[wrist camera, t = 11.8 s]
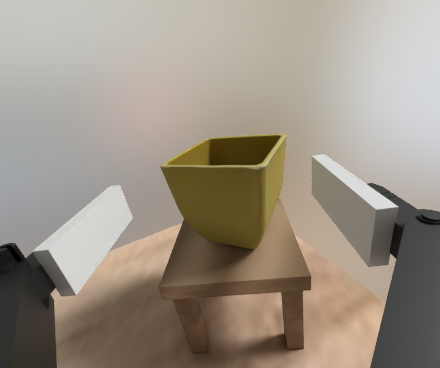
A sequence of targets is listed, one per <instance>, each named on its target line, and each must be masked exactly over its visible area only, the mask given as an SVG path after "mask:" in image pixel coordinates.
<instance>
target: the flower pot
mask: <svg viewBox="0 0 440 368" xmlns="http://www.w3.org/2000/svg"><path fill="white" fill-rule="evenodd" d="M285 146H286V134H268V135H267V134H266V135H248V136H234V137H217V138H208V139H205V140H203V141H201V142H199V143H198V144H196V145H194V146H192V147H191V148H189V149H187V150H186V151H184V152H182V153H180V154H179V155H177V156H175V157H173V158H171V159H170V160H168V161H166V162H165V163H163V164H162V165H161V166H160V167H161V169H162V171H163V173H164V176H165V178H166V181H167V183H168V186H169V188H170V190H171V193H172V195H173V197H174V199H175V202H176V204H177V206H178V208H179V210H180V212H181V214H182V215H183V217H184V219H185V220H186V222H187V223H188V224H189V225H190V226H191V227H192V228H193V229H194V230H195V231H196V232H197V233H198V234H200V235H201V236H202V237H204V238H205V239H207V240H208V241H210V242H215V243H221V244H227V245H232V246H237V247H243V248H247V249H256V248H257V247H258V246H259V244H260V242H261V240H262V238H263V236H264V233H265V231H266V228H267V226H268V223H269V221H270V218H271V216H272V214H273V211H274V209H275V207H276V204H277V201H278V199H279V195H280V191H281V188H282V182H283V172H284V160H285Z"/></svg>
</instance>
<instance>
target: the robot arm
mask: <svg viewBox="0 0 440 368" xmlns="http://www.w3.org/2000/svg"><path fill="white" fill-rule="evenodd" d="M312 195H313V196H314V197H315V199H316V200H317V201H318V202H319V204H320V205H321V206H322V208H323V209H324V210H325V212H326V213H327V214H328V215H329V217H330V218H331V219H332V221H333V222H334V223H335V224H336V225H337V227H338V228H339V230H340V231H341V232H342V233H343V235H344V236H345V237H346V238H347V240H348V241H349V242H350V244H351V245H352V246H353V248H354V249H355V250H356V251H357V253H358V254H359V255H360V257H361V258H362V259H363V260H364V262H365V263H366V264H367V266H368V267H371V266H381V265H388V263H389V258H390V253H391V254H392V255H393V256H394V257H395V258H396V264H395V268H394V272H393V276H392V280H391V284H390V288H389V292H388V296H387V301H386V305H385V309H384V313H383V317H382V321H381V325H380V330H379V334H378V338H377V342H376V346H375V350H374V354H373V358H372V363H371V367H370V368H440V212H438V211H433V210H426V209H419V210H418V209H416V208H415V207H413V206H412V205H410V204H409V203H407V202H405V201H404V200H402V199H401V198H399V197H397V196H396V195H394V194H393V193H391V192H390V191H388V190H387V189H385V188H384V187H382V186H379V185H376V184H373V183H370V184H366V183H364V182H363V181H361V180H360V179H358V178H357V177H356V176H354V175H353V174H351V173H350V172H348V171H347V170H346V169H344V168H343V167H341V166H340V165H339V164H337V163H336V162H334V161H333V160H331V159H330V158H329V157H327V156H326V155H324V154H323V155H317V156H312ZM132 218H133V217H132V215H131V212H130V210H129V207H128V204H127V202H126V200H125V197H124V194H123V192H122V189H121V187H120V185H116V186H110V187H108V188H107V189H106V190H105V191H104V192H102V193H101V194H100V195H99V196H98V197H96V198H95V199H94V200H93V201H92V202H90V203H89V204H88V205H87V206H86V207H85V208H83V209H82V210H81V211H80V212H79V213H77V214H76V215H75V216H74V217H73V218H72V219H70V220H69V221H68V222H67V223H65V224H64V225H63V226H62V227H61V228H60V229H58V230H57V231H56V232H55V233H54V234H52V235H51V236H50V237H49V238H48V239H47V240H45V241H44V242H43V243H42V244H41V245H39V246H38V247H37V248H36V249H35V250H33V253H31V254H30V255H29V256H28V257H27V258H25V257H24V255H23V254H22V253H21V251H20V250H19V248H18V247H17V245H16V244H15V243H9V244H5V245H2V246H0V368H57V364H56V340H55V316H54V299H53V298H52V296H51V295H50V293H51V292H52V291H53V290H54V289H55V288H56V289H57V290H58V292H59V293H60V295H61V296H72V295H77V294H78V292H79V291H80V290H81V288H82V287H83V285H84V284H85V283H86V281H87V280H88V279H89V277H90V276H91V274H92V273H93V272H94V270H95V269H96V268H97V266H98V265H99V263H100V262H101V261H102V259H103V258H104V257H105V255H106V254H107V253H108V251H109V250H110V248H111V247H112V246H113V244H114V243H115V241H116V240H117V238H118V237H119V236H120V235H121V233H122V232H123V230H124V229H125V228H126V226H127V225H128V224H129V222H130V221H131V220H132Z"/></svg>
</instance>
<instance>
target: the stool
mask: <svg viewBox="0 0 440 368" xmlns="http://www.w3.org/2000/svg"><path fill="white" fill-rule="evenodd" d="M159 289H160V292H161V294H162V297H163V299H164V300H170V299H173V301H174V304H175V307H176V309H177V312H178V315H179V317H180V320H181V323H182V325H183V328H184V331H185V334H186V336H187V339H188V342H189V344H190V347H191V350H192V352H207V346H208V333H207V330H206V327H205V323H204V320H203V317H202V314H201V310H200V307H199V304H198V300H197V298H200V297H214V296H229V295H244V294H259V293H274V292H281V294H282V307H283V320H284V333H285V338H286V343H287V348H288V349H304V335H303V291H304V290H311V275H310V272H309V270H308V267H307V265H306V262H305V260H304V257H303V255H302V253H301V250H300V248H299V245H298V243H297V240H296V238H295V235H294V233H293V230H292V228H291V226H290V223H289V220H288V218H287V215H286V213H285V210H284V208H283V206H282V203H281V201H280V199H278V201H277V204H276V207H275V209H274V211H273V214H272V216H271V218H270V221H269V223H268V226H267V228H266V231H265V233H264V236H263V238H262V240H261V242H260V244H259V246H258V247H257V248H256V249H247V248H243V247H237V246H232V245H227V244H221V243H215V242H210V241H208V240H207V239H205V238H204V237H202V236H201V235H200V234H198V233H197V232H196V231H195V230H194V229H193V228H192V227H191V226H190V225H189V224H188V223H187V222H186V220H185V219H184V221H183V223H182V226H181V229H180V231H179V234H178V237H177V239H176V242H175V245H174V248H173V250H172V253H171V256H170V258H169V261H168V264H167V266H166V269H165V272H164V274H163V277H162V280H161V282H160V285H159Z"/></svg>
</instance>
